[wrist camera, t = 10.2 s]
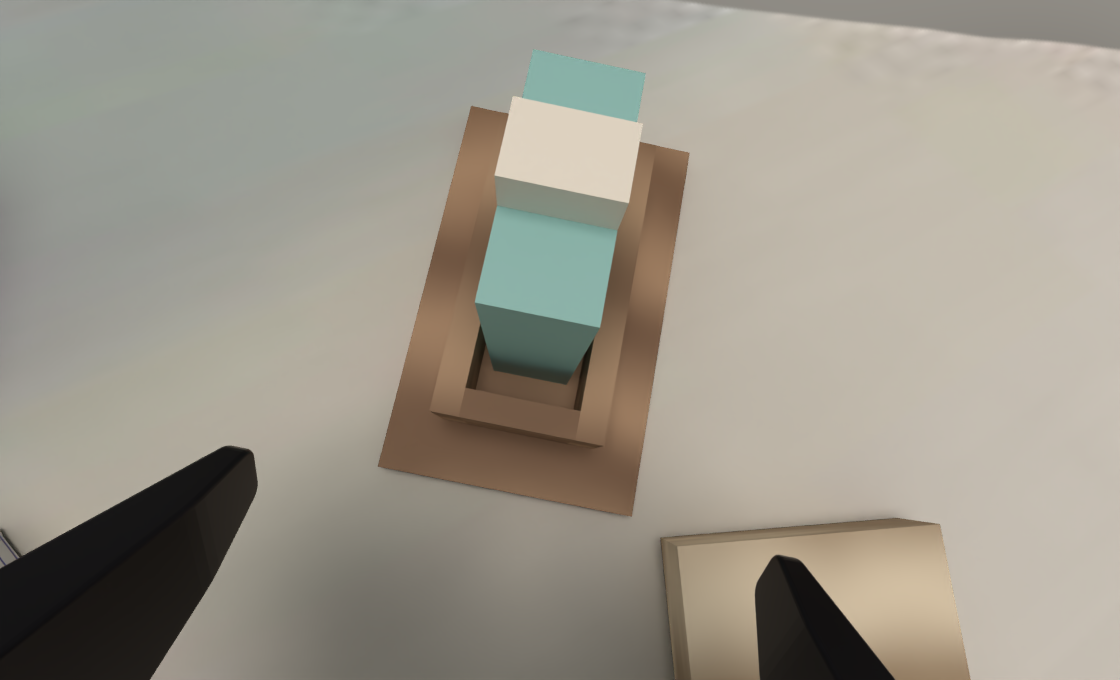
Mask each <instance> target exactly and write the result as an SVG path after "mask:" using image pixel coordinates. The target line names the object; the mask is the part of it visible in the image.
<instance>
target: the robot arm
mask: <svg viewBox="0 0 1120 680" xmlns="http://www.w3.org/2000/svg"><path fill="white" fill-rule="evenodd" d="M257 486H258V481H257V474H256V467H255V460H254V455H253V453H252V451H251V450H249V449H246V448H240V447H235V446H224V447H222V448H220V449H218V450H216V451H214V452H212V453H210V454H209V455H207V456H205V457H203V458H201V459H199V460H198V461H196V462H194V463H192V464H190V465H188V466H187V467H185V468H183V469H181V470H179V471H177V472H176V473H174V474H172V475H170V476H168V477H166V478H165V479H163V480H161V481H159V482H157V483H155V484H154V485H152V486H150V487H148V488H146V489H144V490H143V491H141V492H139V493H137V494H135V495H133V496H132V497H130V498H128V499H126V500H124V501H122V502H121V503H119V504H117V505H115V506H113V507H111V508H110V509H108V510H106V511H104V512H102V513H100V514H99V515H97V516H95V517H93V518H91V519H89V520H88V521H86V522H84V523H82V524H80V525H78V526H77V527H75V528H73V529H71V530H69V531H67V532H66V533H64V534H62V535H60V536H58V537H56V538H55V539H53V540H51V541H49V542H47V543H45V544H44V545H42V546H40V547H38V548H36V549H34V550H33V551H31V552H29V553H27V554H25V555H23V556H22V557H20V558H18V559H16V560H14V561H12V562H11V563H9V564H7V565H5V566H3V567H1V568H0V680H150V679H151V677H152V676H153V674H154V672H155V671H156V669H157V668H158V666H159V665H160V663H161V661H162V660H163V658H164V657H165V655H166V654H167V652H168V650H169V649H170V647H171V646H172V644H173V643H174V641H175V639H176V638H177V636H178V635H179V633H180V632H181V630H182V629H183V627H184V625H185V624H186V622H187V621H188V619H189V618H190V616H191V614H192V613H193V611H194V610H195V608H196V607H197V605H198V603H199V602H200V600H201V599H202V597H203V596H204V594H205V592H206V591H207V589H208V587H209V586H210V584H211V582H212V581H213V579H214V577H215V575H216V573H217V571H218V569H219V567H220V565H221V563H222V561H223V559H224V557H225V555H226V553H227V551H228V549H229V547H230V545H231V543H232V541H233V539H234V537H235V535H236V533H237V531H238V529H239V527H240V525H241V523H242V521H243V519H244V517H245V515H246V513H247V511H248V509H249V507H250V505H251V503H252V501H253V499H254V497H255V494H256V491H257ZM755 611H756V627H757V644H758V661H759V676H760V680H896V679H895V678H894V677H893V676H892V674H891V673H890V672H889V671H888V669H887V668H886V667H885V666H884V664H883V663H882V662H881V660H880V659H879V658H878V657H877V655H876V654H875V653H874V652H873V650H872V649H871V648H870V647H869V645H868V644H867V643H866V642H865V640H864V639H863V638H862V637H861V635H860V634H859V633H858V631H857V630H856V629H855V628H854V626H853V625H852V624H851V623H850V621H849V620H848V619H847V618H846V616H845V615H844V614H843V613H842V611H841V610H840V609H839V608H838V606H837V605H836V604H835V602H834V601H833V600H832V599H831V597H830V596H829V595H828V594H827V592H826V591H825V590H824V589H823V587H822V586H821V585H820V584H819V582H818V581H817V580H816V579H815V577H814V576H813V575H812V573H811V572H810V571H809V570H808V568H807V567H806V566H805V565H804V563H803V562H802V561H800V560H799V559H797V558H794V557H789V556H784V555H775V556H773V557H772V558H771V560H770V561H769V563H768V565H767V566H766V568H765V569H764V571H763V573H762V574H761V576H760V578H759V579H758V581H757V583H756V587H755Z"/></svg>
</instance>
